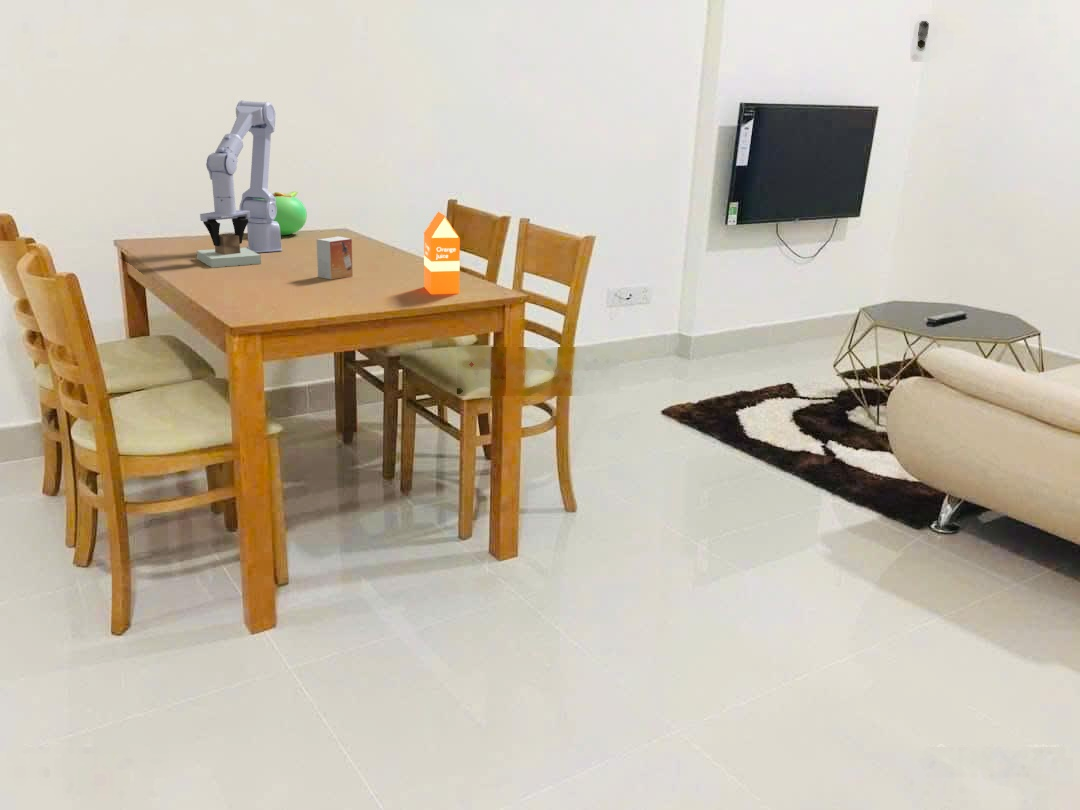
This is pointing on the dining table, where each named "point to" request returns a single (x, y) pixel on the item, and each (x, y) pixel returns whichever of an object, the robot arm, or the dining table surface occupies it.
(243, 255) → the base
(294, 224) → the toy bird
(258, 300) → the dining table surface
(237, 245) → the walnut cube
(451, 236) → the orange juice
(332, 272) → the small box
